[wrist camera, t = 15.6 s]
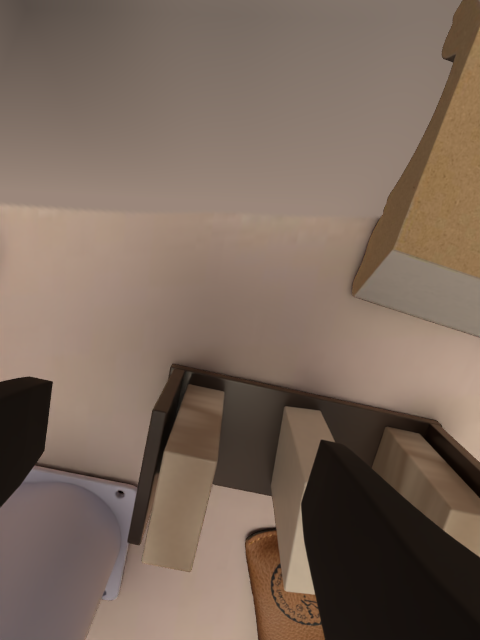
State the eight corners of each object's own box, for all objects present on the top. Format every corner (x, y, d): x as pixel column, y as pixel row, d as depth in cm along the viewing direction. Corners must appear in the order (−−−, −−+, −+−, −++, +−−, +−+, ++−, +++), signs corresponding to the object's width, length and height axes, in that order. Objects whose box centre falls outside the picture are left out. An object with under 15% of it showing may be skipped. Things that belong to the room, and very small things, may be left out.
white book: (270, 486, 21) (283, 592, 15) (284, 405, 20) (304, 481, 14) (305, 490, 21) (333, 598, 15) (320, 409, 20) (358, 488, 14)
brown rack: (151, 465, 21) (109, 573, 14) (172, 363, 20) (137, 427, 13) (402, 516, 22) (475, 641, 15) (437, 420, 21) (536, 510, 14)
